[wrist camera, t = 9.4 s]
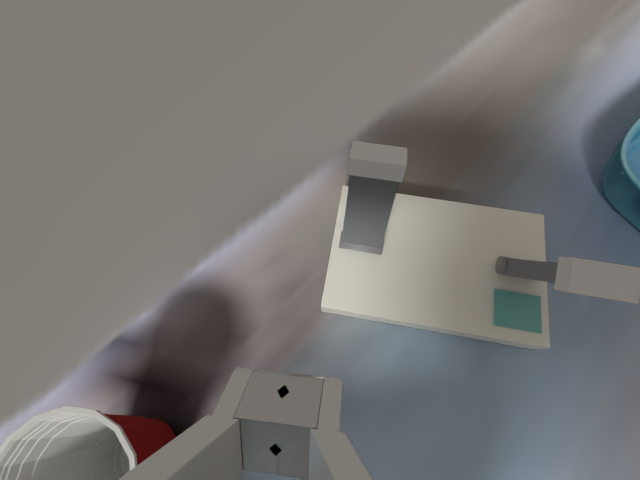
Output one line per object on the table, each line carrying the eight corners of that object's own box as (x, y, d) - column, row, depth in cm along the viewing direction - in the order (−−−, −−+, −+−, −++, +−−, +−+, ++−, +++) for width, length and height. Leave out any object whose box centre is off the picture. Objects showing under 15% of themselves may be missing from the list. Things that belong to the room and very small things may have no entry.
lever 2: (538, 283, 34) (638, 304, 22) (493, 276, 35) (567, 292, 23) (542, 259, 34) (644, 268, 22) (497, 252, 35) (573, 257, 23)
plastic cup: (68, 497, 32) (-77, 570, 20) (125, 378, 35) (28, 383, 24) (172, 543, 30) (78, 649, 19) (221, 414, 34) (165, 438, 22)
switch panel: (532, 349, 35) (551, 347, 32) (321, 311, 37) (320, 306, 34) (528, 225, 39) (545, 213, 36) (342, 197, 42) (342, 184, 39)
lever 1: (380, 260, 35) (406, 165, 26) (337, 253, 35) (349, 158, 26) (381, 242, 36) (407, 147, 27) (341, 236, 37) (352, 140, 28)
